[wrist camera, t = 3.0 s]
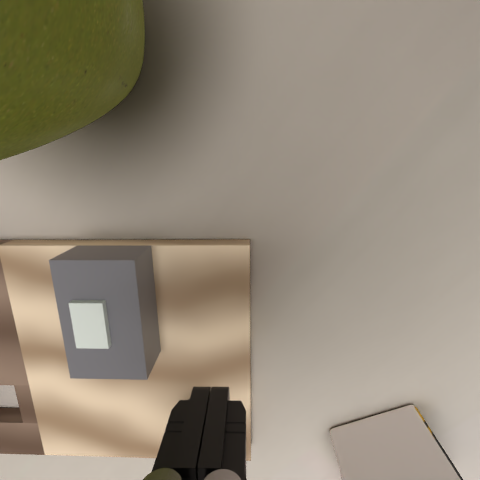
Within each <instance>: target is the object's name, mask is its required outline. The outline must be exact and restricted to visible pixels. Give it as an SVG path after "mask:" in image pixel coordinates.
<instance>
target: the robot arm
mask: <svg viewBox="0 0 480 480" xmlns="http://www.w3.org/2000/svg"><path fill="white" fill-rule="evenodd" d="M246 441H247V440H246V410H245V407H244V405H243V403H242V401H231V400H230V393H229V387H212V388H211V387H193V389H192V392H191V396H190V400H179V401H178V403H177V404H176V405H175V406H174V407H173V409H172V410H171V413H170V416H169V419H168V424H167V426H166V429H165V433H164V435H163V438H162V441H161V445H160V448H159V451H158V454H157V457H156V460H155V464H154V467H153V470H152V472H151V473H150V474H148V475H147V476H146V477H145V478H144V479H143V480H247V479H246Z"/></svg>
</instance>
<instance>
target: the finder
mask: <svg viewBox="0 0 480 480" xmlns="http://www.w3.org/2000/svg"><path fill="white" fill-rule="evenodd" d="M49 265H50V270H51V276H52V281H53V287H54V292H55V297H56V303H57V308H58V314H59V319H60V325H61V330H62V336H63V341H64V347H65V352H66V357H67V363H68V368H69V374H70V378H73V379H129V380H147V379H148V377H149V375H150V373H151V371H152V369H153V367H154V365H155V362H156V360H157V358H158V356H159V354H160V352H161V348H160V337H159V326H158V315H157V304H156V293H155V282H154V271H153V260H152V249H151V246H75V247H73V248H71V249H70V250H68V251H66V252H64V253H62V254H60V255H58V256H56V257H54V258H52V259H50V260H49Z"/></svg>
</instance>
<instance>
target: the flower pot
mask: <svg viewBox="0 0 480 480" xmlns="http://www.w3.org/2000/svg"><path fill="white" fill-rule="evenodd" d="M144 45H145V26H144V10H143V1H142V0H0V160H2V159H5V158H8V157H11V156H14V155H17V154H20V153H23V152H26V151H29V150H32V149H34V148H37V147H40V146H42V145H45V144H47V143H50V142H52V141H54V140H57V139H59V138H61V137H63V136H66V135H68V134H70V133H72V132H74V131H76V130H78V129H80V128H83V127H85V126H86V125H88V124H90V123H92V122H93V121H95V120H97V119H98V118H100V117H102V116H103V115H104V114H106V113H107V112H109V111H110V110H111V109H113V108H114V107H115V106H116V105H118V104H119V103H120V102H121V101H122V100H123V99H124V98H125V97H126V96H127V95H128V94H129V93H130V92H131V90H132V88H133V87H134V85H135V84H136V81H137V79H138V77H139V75H140V71H141V68H142V64H143V58H144Z"/></svg>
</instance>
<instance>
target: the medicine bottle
mask: <svg viewBox="0 0 480 480" xmlns="http://www.w3.org/2000/svg"><path fill="white" fill-rule="evenodd" d="M330 436H331V440H332V444H333V447H334V451H335V455H336V458H337V462H338V465H339V469H340V473H341V476H342V480H463V479H462V477H461V476H460V474H459V472H458V471H457V469H456V468H455V466H454V465H453V463H452V462H451V460H450V459H449V457H448V455H447V454H446V452H445V451H444V449H443V448H442V446H441V445H440V443H439V442H438V440H437V439H436V437H435V435H434V434H433V432H432V431H431V429H430V428H429V426H428V425H427V423H426V422H425V420H424V418H423V417H422V415H421V414H420V412H419V411H418V409H417V408H416V407H415V406H414V405H408V406H405V407H401V408H398V409H395V410H391V411H388V412H385V413H381V414H378V415H375V416H372V417H368V418H365V419H362V420H358V421H355V422H352V423H348V424H345V425H342V426H338V427H335V428H332V429H331V430H330Z"/></svg>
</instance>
